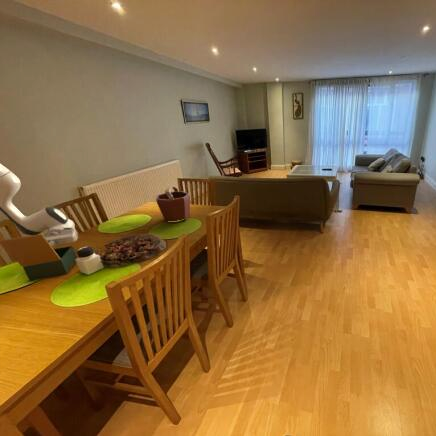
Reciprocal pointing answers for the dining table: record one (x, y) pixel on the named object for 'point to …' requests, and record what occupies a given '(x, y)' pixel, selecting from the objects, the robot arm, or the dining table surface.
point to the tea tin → (52, 265)
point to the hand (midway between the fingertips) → (44, 247)
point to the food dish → (131, 250)
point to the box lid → (30, 250)
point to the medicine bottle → (88, 260)
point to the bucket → (174, 204)
